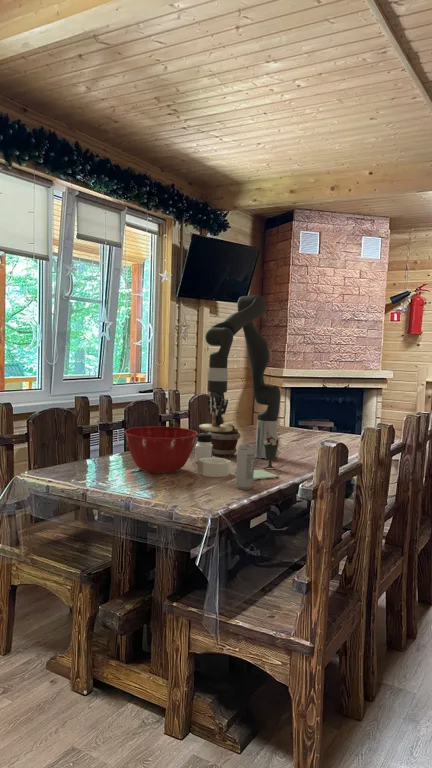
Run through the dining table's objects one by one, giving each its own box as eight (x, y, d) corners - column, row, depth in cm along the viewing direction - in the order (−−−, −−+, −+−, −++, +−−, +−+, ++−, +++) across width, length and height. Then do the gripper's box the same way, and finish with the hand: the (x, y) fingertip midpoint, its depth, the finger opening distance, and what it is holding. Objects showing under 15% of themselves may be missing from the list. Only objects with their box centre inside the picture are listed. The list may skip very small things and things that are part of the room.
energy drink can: (242, 484, 197) (244, 443, 196) (256, 488, 193) (258, 445, 192) (232, 487, 192) (234, 444, 191) (246, 490, 188) (248, 447, 187)
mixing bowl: (185, 481, 198) (187, 439, 197) (111, 474, 204) (112, 433, 203) (203, 466, 226) (205, 429, 225) (137, 461, 231) (138, 424, 231)
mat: (261, 471, 221) (261, 469, 221) (278, 478, 210) (278, 475, 210) (235, 473, 215) (235, 471, 215) (252, 480, 205) (252, 478, 205)
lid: (222, 426, 222) (222, 409, 221) (238, 430, 210) (239, 413, 210) (193, 427, 215) (193, 410, 215) (208, 432, 204) (209, 414, 204)
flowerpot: (245, 455, 256) (247, 412, 255) (228, 459, 243) (230, 414, 242) (218, 450, 264) (220, 409, 263) (200, 455, 251) (202, 411, 250)
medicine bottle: (211, 463, 233) (212, 435, 232) (194, 462, 233) (195, 434, 232) (212, 460, 240) (213, 433, 239) (195, 459, 240) (196, 432, 239)
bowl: (219, 469, 222) (220, 456, 222) (234, 475, 212) (235, 462, 211) (193, 471, 216) (193, 458, 216) (207, 477, 206) (207, 464, 205)
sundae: (259, 468, 226) (261, 432, 226) (265, 466, 232) (267, 430, 232) (274, 470, 223) (276, 434, 222) (280, 468, 229) (282, 432, 228)
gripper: (235, 381, 207) (233, 426, 208) (217, 378, 220) (215, 421, 221) (218, 380, 204) (216, 427, 205) (200, 378, 216) (199, 422, 217)
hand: (216, 424), depth 213 cm, fingers closed on lid, 3 cm apart
